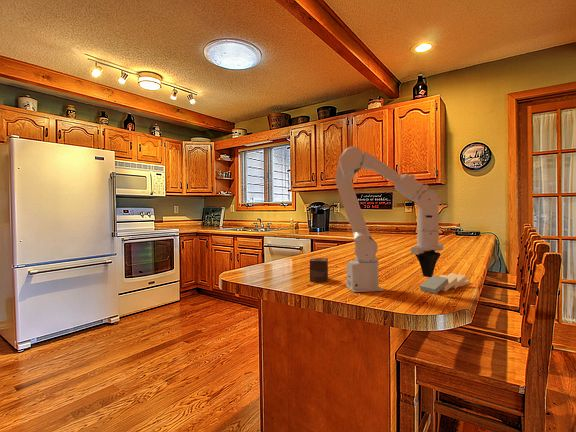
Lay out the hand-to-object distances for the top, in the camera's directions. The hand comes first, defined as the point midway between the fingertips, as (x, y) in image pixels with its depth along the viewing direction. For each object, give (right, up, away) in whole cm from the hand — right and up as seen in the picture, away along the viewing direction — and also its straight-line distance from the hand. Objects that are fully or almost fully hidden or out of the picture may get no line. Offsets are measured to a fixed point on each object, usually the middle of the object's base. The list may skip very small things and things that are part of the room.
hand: (427, 276), depth 92 cm
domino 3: (+9, -4, +7) cm, 12 cm away
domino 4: (+12, -4, +9) cm, 16 cm away
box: (-30, -5, +18) cm, 36 cm away
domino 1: (0, -4, +1) cm, 4 cm away
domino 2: (+4, -4, +3) cm, 7 cm away
